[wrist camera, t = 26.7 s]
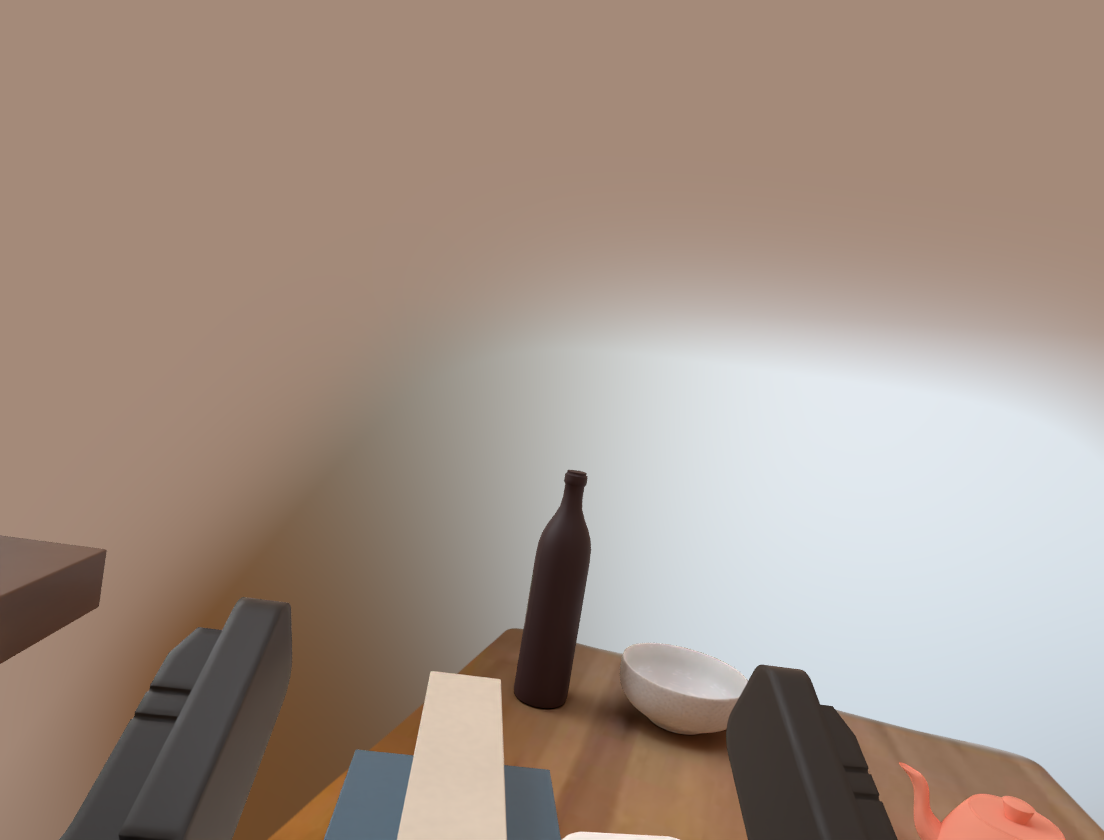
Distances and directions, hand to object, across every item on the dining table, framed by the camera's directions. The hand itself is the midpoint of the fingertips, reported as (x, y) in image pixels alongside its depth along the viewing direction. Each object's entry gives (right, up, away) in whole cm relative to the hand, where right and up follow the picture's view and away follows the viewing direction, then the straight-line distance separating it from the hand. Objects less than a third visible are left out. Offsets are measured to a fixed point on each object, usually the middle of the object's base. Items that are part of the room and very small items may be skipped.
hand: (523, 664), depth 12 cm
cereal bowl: (+17, -35, +77) cm, 86 cm away
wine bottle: (-1, -32, +77) cm, 83 cm away
